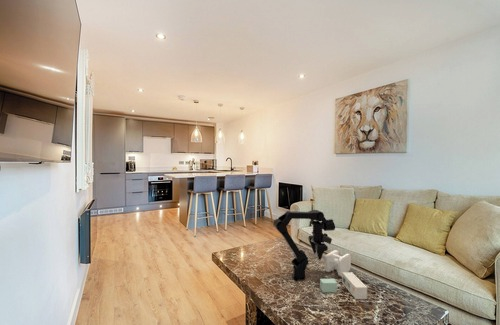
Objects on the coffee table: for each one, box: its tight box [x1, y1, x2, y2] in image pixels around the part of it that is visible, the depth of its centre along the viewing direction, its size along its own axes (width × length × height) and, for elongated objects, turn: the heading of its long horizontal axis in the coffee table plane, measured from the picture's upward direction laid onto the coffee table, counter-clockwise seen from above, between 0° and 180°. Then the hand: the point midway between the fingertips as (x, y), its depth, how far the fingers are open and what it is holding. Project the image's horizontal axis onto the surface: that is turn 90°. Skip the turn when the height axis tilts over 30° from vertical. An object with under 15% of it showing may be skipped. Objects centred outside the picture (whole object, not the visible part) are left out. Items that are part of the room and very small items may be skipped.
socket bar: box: [341, 271, 368, 300], centre depth 125 cm, size 6×16×6 cm, turn 2°
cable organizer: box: [324, 249, 352, 278], centre depth 146 cm, size 15×11×12 cm
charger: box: [319, 278, 342, 293], centre depth 125 cm, size 10×4×5 cm, turn 92°
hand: (317, 256), depth 141 cm, fingers open, 9 cm apart
